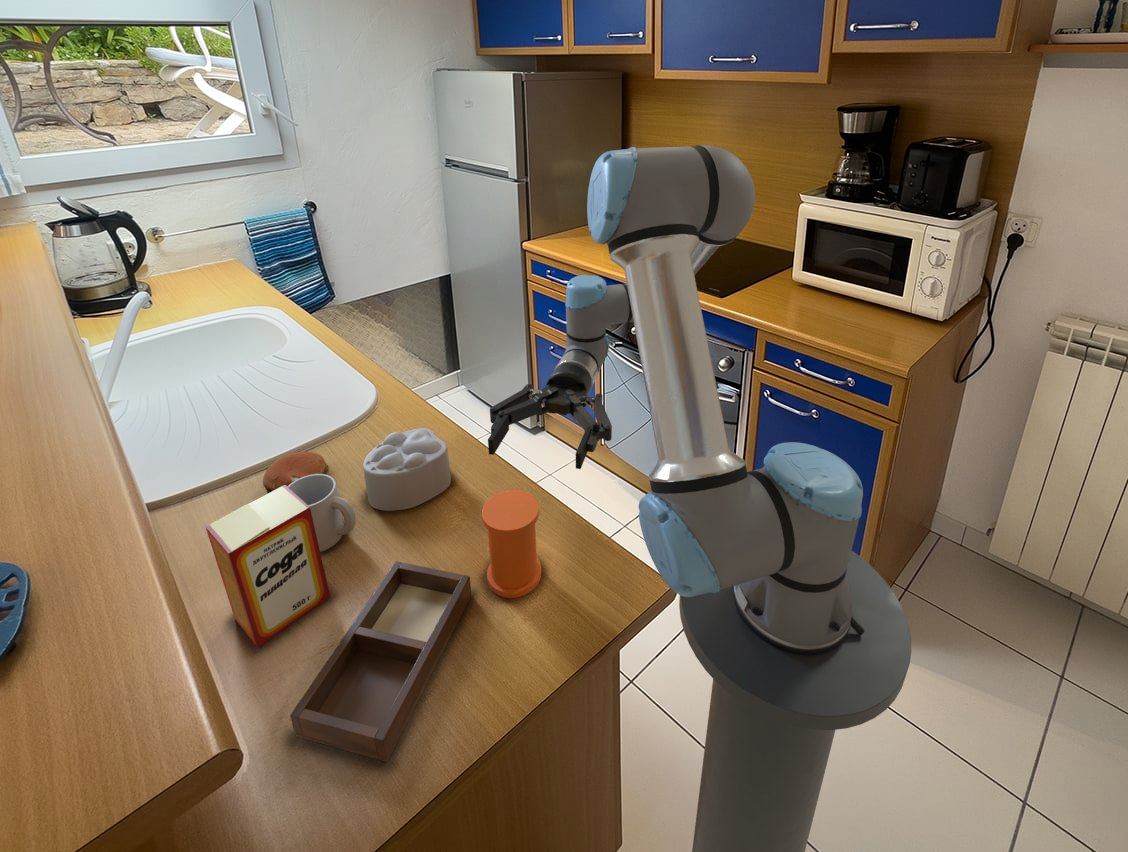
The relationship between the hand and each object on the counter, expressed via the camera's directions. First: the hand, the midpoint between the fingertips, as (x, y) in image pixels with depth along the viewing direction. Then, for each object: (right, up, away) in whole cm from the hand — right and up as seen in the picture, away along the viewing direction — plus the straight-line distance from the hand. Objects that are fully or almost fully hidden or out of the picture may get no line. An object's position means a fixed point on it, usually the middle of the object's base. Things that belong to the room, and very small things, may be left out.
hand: (533, 454), depth 88 cm
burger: (-41, -9, +13) cm, 44 cm away
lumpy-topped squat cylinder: (-23, -9, +13) cm, 28 cm away
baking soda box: (-32, -18, -9) cm, 38 cm away
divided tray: (-15, -21, -15) cm, 30 cm away
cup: (-32, -13, +2) cm, 34 cm away
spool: (-2, -16, -4) cm, 17 cm away
